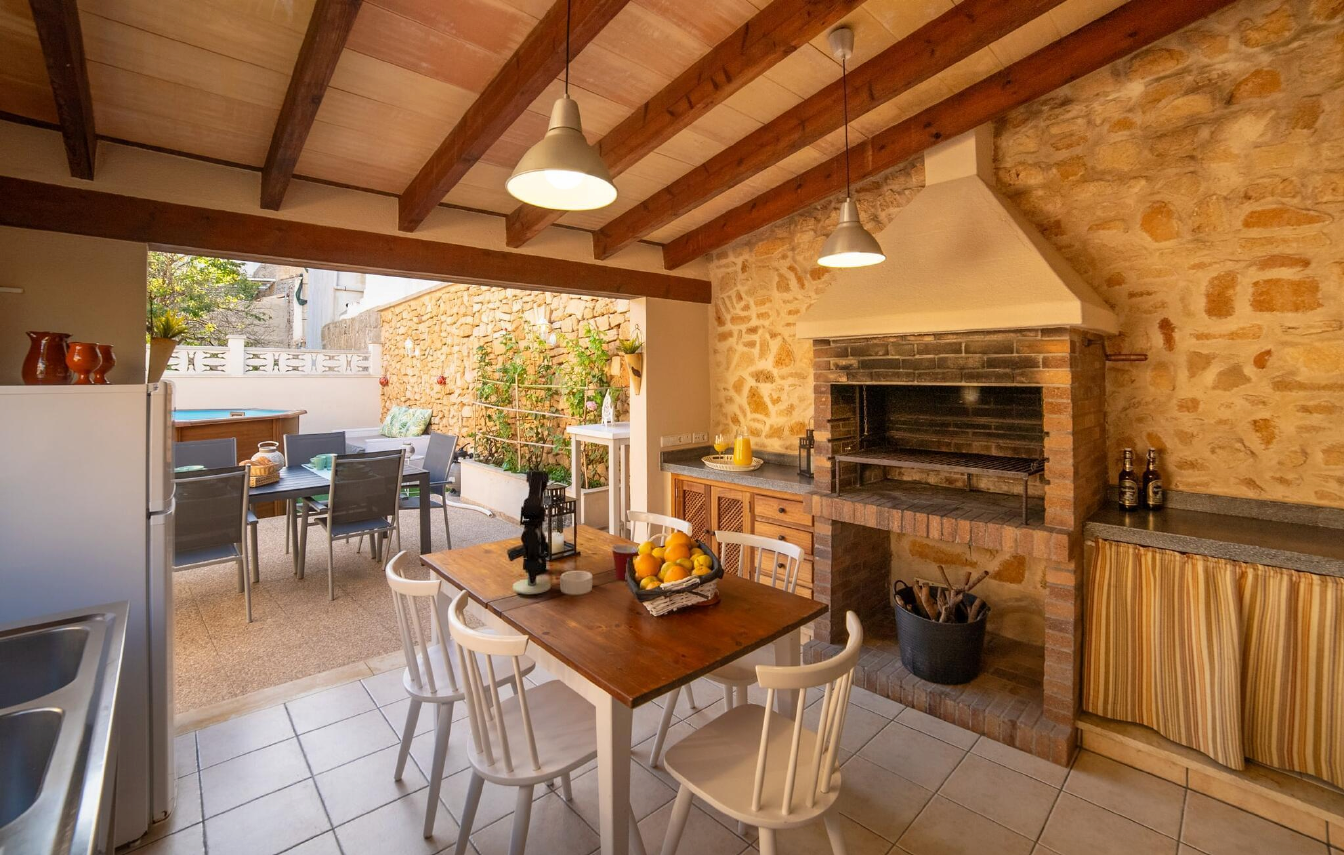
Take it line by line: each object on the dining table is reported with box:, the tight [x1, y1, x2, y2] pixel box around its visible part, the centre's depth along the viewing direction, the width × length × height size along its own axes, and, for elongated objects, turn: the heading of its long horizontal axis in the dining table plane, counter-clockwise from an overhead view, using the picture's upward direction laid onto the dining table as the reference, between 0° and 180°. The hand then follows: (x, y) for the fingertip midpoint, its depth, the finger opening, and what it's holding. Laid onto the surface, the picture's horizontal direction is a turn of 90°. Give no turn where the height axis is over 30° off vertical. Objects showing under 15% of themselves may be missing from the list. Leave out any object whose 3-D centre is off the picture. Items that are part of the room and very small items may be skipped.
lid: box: [512, 574, 552, 595], centre depth 209 cm, size 13×13×4 cm
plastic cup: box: [611, 544, 640, 582], centre depth 227 cm, size 11×11×12 cm
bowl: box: [559, 570, 593, 596], centre depth 213 cm, size 11×11×5 cm
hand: (531, 581), depth 209 cm, fingers closed on lid, 3 cm apart
